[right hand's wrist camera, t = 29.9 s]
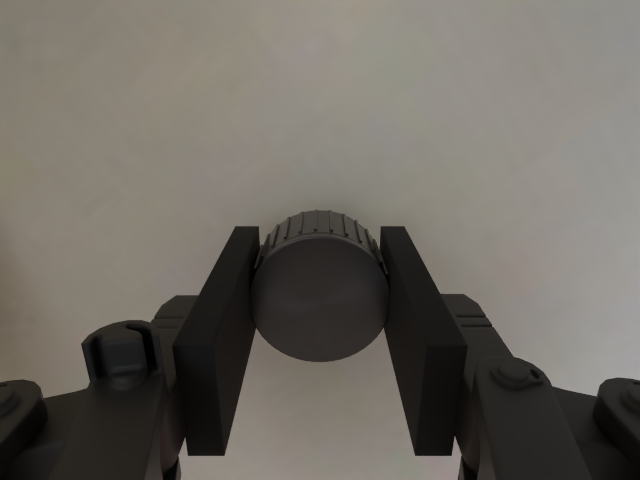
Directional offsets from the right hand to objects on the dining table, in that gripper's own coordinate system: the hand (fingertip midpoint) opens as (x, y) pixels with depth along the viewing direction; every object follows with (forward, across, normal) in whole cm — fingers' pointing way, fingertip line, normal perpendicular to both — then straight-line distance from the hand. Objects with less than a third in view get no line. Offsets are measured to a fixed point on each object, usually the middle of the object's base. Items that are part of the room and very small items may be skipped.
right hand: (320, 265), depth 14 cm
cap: (-2, 0, 0) cm, 2 cm away
